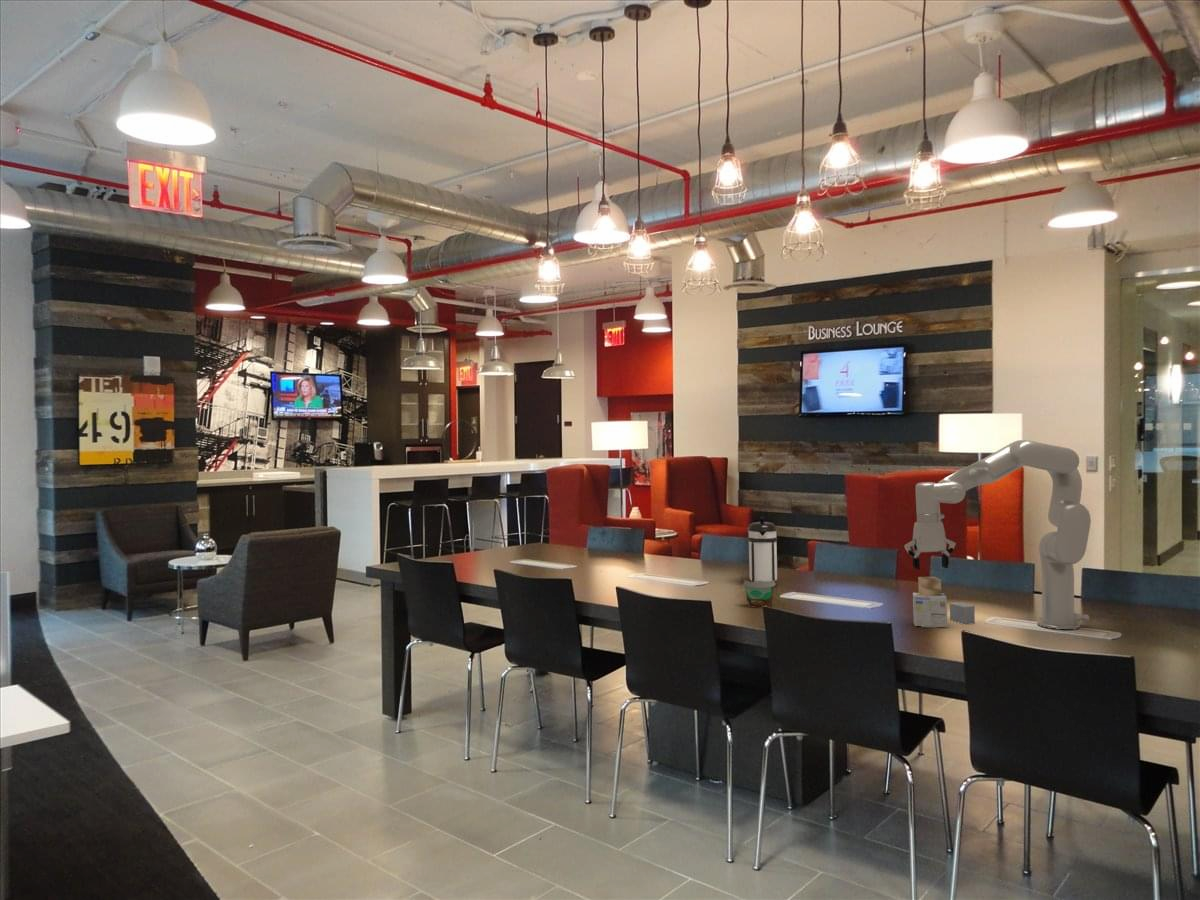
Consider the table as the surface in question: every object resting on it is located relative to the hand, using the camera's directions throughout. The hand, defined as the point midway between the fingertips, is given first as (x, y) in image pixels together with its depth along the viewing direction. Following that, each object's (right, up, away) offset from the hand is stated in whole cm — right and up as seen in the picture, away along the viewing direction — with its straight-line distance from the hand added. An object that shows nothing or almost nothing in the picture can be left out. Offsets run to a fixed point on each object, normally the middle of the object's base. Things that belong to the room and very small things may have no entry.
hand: (930, 568), depth 286 cm
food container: (-52, -20, +37) cm, 67 cm away
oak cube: (0, -9, 0) cm, 9 cm away
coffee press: (-41, -19, +84) cm, 95 cm away
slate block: (+13, -19, +5) cm, 24 cm away
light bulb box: (0, -20, 0) cm, 20 cm away
